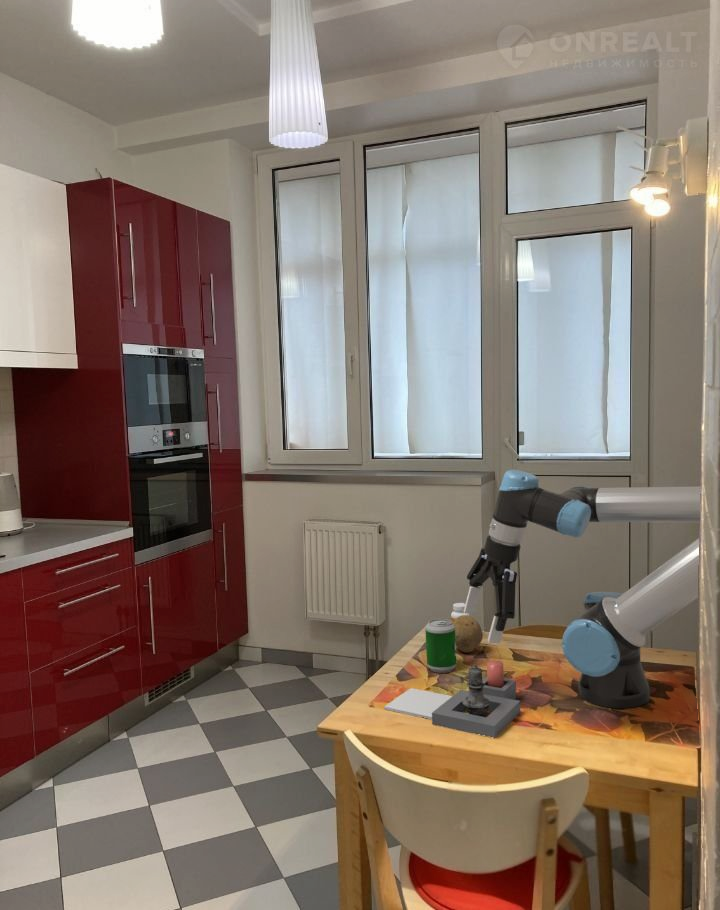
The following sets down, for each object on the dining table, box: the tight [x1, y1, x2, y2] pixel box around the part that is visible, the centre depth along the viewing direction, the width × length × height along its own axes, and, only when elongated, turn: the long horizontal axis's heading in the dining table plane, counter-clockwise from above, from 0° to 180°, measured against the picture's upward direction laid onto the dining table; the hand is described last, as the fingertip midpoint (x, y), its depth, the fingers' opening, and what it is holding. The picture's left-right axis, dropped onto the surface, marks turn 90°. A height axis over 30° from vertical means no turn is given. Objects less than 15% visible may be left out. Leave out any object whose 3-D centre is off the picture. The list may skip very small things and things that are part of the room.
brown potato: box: [453, 615, 484, 654], centre depth 200 cm, size 9×9×10 cm
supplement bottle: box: [450, 602, 471, 623], centre depth 211 cm, size 5×5×10 cm
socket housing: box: [431, 676, 521, 739], centre depth 161 cm, size 14×21×4 cm
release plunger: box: [486, 660, 505, 688], centre depth 166 cm, size 4×4×6 cm
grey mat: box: [383, 687, 453, 721], centre depth 167 cm, size 12×12×1 cm
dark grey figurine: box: [462, 662, 490, 717], centre depth 158 cm, size 6×6×12 cm
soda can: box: [424, 618, 457, 674], centre depth 188 cm, size 8×8×12 cm
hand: (480, 627), depth 168 cm, fingers open, 13 cm apart
